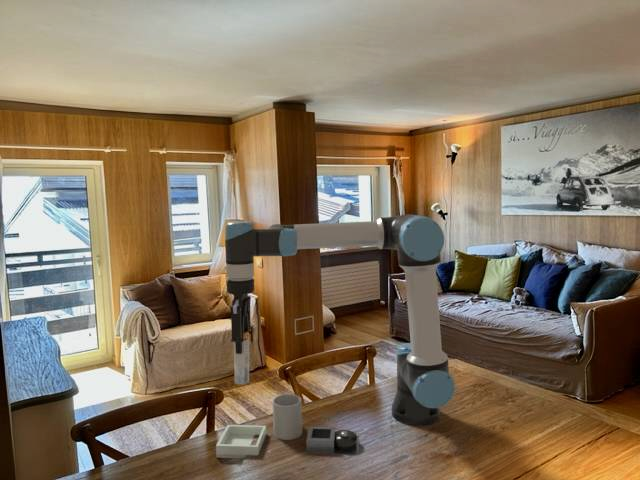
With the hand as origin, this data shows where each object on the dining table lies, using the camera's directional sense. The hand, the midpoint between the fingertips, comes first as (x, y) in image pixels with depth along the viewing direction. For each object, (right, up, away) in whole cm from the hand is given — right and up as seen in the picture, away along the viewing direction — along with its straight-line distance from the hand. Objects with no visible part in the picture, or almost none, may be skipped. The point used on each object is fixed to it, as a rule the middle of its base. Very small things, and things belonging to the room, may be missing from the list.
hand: (242, 360), depth 134 cm
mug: (+12, -24, +10) cm, 29 cm away
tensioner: (+26, -25, +1) cm, 36 cm away
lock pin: (0, -6, +1) cm, 6 cm away
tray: (0, -25, +3) cm, 25 cm away
